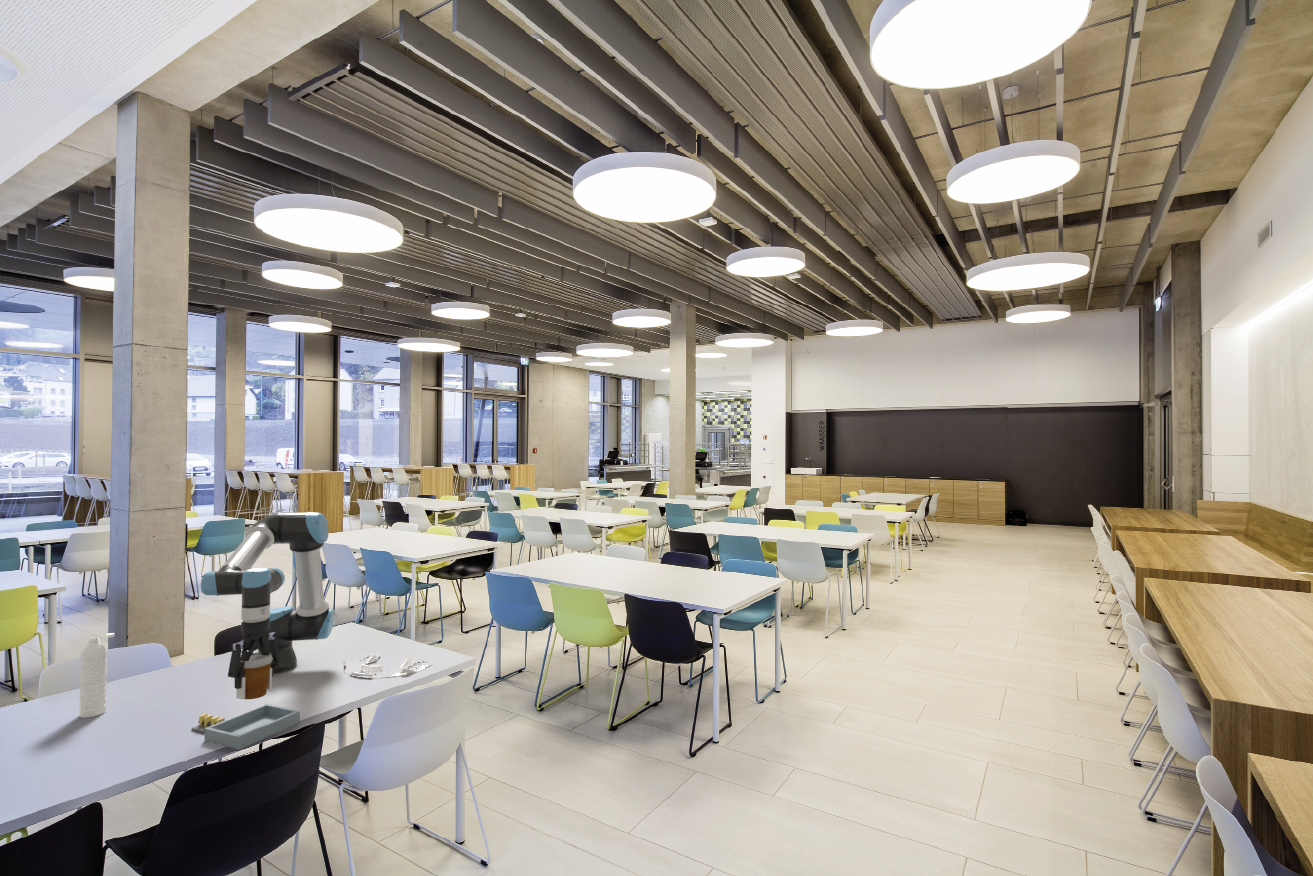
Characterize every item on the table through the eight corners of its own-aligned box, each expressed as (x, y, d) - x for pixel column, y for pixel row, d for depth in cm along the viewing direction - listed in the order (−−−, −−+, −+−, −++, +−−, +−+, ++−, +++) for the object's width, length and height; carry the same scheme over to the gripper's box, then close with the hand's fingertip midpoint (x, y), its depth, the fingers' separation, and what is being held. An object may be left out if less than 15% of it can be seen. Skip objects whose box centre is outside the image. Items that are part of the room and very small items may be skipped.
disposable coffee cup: (245, 704, 191) (246, 663, 191) (230, 697, 196) (230, 658, 196) (278, 694, 199) (279, 655, 199) (262, 687, 204) (263, 650, 204)
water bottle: (85, 719, 204) (87, 641, 204) (75, 715, 207) (76, 638, 207) (118, 709, 212) (119, 634, 212) (107, 706, 215) (109, 631, 215)
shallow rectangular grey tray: (204, 740, 190) (204, 728, 190) (266, 714, 209) (267, 703, 209) (239, 749, 185) (239, 737, 185) (300, 722, 204) (300, 710, 204)
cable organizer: (437, 663, 261) (437, 655, 261) (398, 684, 238) (398, 675, 238) (366, 654, 271) (366, 646, 271) (322, 674, 248) (322, 665, 248)
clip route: (190, 730, 197) (190, 718, 197) (210, 722, 203) (210, 710, 203) (214, 736, 193) (214, 723, 193) (234, 728, 199) (234, 716, 199)
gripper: (230, 629, 186) (229, 707, 186) (294, 612, 206) (293, 683, 205) (213, 626, 189) (212, 704, 189) (277, 610, 209) (276, 680, 208)
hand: (254, 693), depth 197 cm, fingers closed on disposable coffee cup, 8 cm apart
